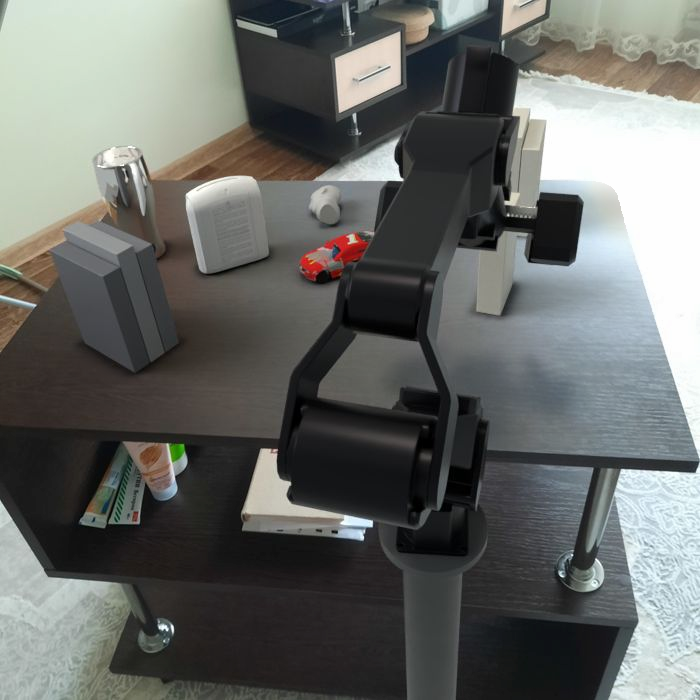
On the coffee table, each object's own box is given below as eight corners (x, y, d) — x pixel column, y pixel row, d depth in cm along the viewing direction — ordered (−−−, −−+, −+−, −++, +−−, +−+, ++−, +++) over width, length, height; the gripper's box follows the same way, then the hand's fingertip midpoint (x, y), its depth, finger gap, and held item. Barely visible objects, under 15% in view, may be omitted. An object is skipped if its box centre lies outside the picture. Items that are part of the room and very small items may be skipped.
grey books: (179, 343, 89) (150, 236, 79) (135, 373, 85) (98, 264, 75) (128, 315, 94) (94, 212, 85) (84, 343, 90) (44, 238, 81)
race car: (307, 289, 96) (303, 263, 94) (294, 268, 100) (291, 243, 98) (399, 264, 99) (398, 238, 97) (383, 245, 103) (382, 220, 101)
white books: (530, 237, 102) (540, 138, 93) (481, 233, 104) (487, 135, 95) (537, 203, 110) (547, 108, 100) (492, 199, 111) (497, 106, 102)
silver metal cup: (178, 245, 107) (154, 149, 97) (147, 270, 102) (119, 171, 93) (142, 236, 110) (115, 141, 100) (110, 259, 105) (79, 162, 96)
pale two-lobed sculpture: (316, 209, 115) (346, 199, 114) (312, 235, 109) (344, 224, 107) (305, 186, 113) (336, 175, 111) (300, 210, 106) (333, 199, 105)
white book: (500, 316, 89) (507, 221, 81) (476, 311, 90) (481, 218, 82) (512, 284, 94) (520, 193, 85) (489, 281, 95) (495, 190, 86)
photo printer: (263, 243, 106) (250, 164, 98) (274, 257, 103) (262, 176, 95) (195, 264, 103) (176, 184, 95) (204, 279, 100) (185, 197, 92)
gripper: (597, 111, 59) (586, 175, 74) (376, 101, 64) (407, 163, 79) (578, 245, 59) (571, 282, 74) (356, 224, 63) (391, 263, 79)
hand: (482, 244), depth 76 cm, fingers open, 9 cm apart
